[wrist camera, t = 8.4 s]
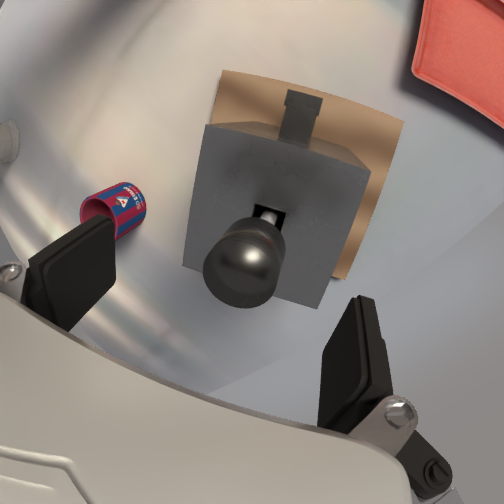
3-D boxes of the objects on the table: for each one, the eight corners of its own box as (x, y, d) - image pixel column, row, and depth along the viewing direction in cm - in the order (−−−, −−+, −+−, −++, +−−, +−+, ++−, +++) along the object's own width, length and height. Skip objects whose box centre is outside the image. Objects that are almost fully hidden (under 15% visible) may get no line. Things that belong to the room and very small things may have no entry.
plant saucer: (531, 37, 15) (544, 34, 12) (515, 145, 23) (529, 149, 21) (422, -34, 16) (429, -44, 14) (401, 78, 25) (409, 74, 22)
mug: (155, 211, 38) (127, 229, 32) (115, 244, 42) (89, 264, 37) (128, 172, 37) (96, 185, 31) (92, 210, 41) (63, 226, 35)
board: (226, 71, 29) (222, 69, 27) (400, 121, 27) (403, 121, 26) (195, 227, 38) (190, 231, 37) (344, 274, 36) (344, 280, 35)
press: (263, 91, 28) (217, 70, 15) (356, 117, 27) (388, 116, 14) (236, 205, 34) (182, 265, 21) (320, 231, 33) (316, 309, 20)
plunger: (262, 132, 29) (163, 160, 11) (336, 153, 29) (367, 219, 10) (245, 201, 33) (150, 314, 15) (314, 222, 32) (299, 365, 14)
